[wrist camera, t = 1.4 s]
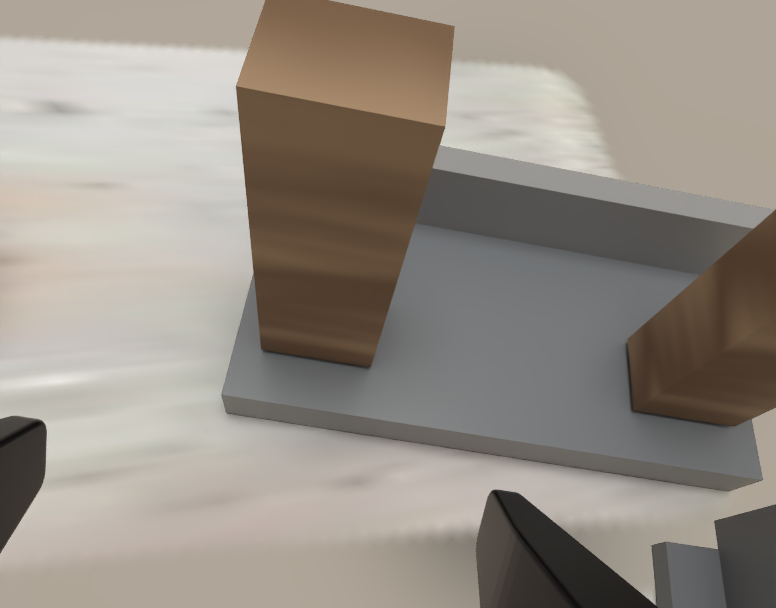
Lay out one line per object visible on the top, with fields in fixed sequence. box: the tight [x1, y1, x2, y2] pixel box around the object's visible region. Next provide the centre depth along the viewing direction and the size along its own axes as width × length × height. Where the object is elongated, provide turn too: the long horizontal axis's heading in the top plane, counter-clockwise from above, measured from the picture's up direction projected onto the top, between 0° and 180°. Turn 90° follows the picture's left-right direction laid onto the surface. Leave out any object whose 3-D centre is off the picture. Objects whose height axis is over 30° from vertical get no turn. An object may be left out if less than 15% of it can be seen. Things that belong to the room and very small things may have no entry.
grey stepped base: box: [221, 145, 774, 491], centre depth 24 cm, size 10×20×6 cm, turn 84°
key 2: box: [236, 0, 454, 367], centre depth 17 cm, size 3×4×12 cm
